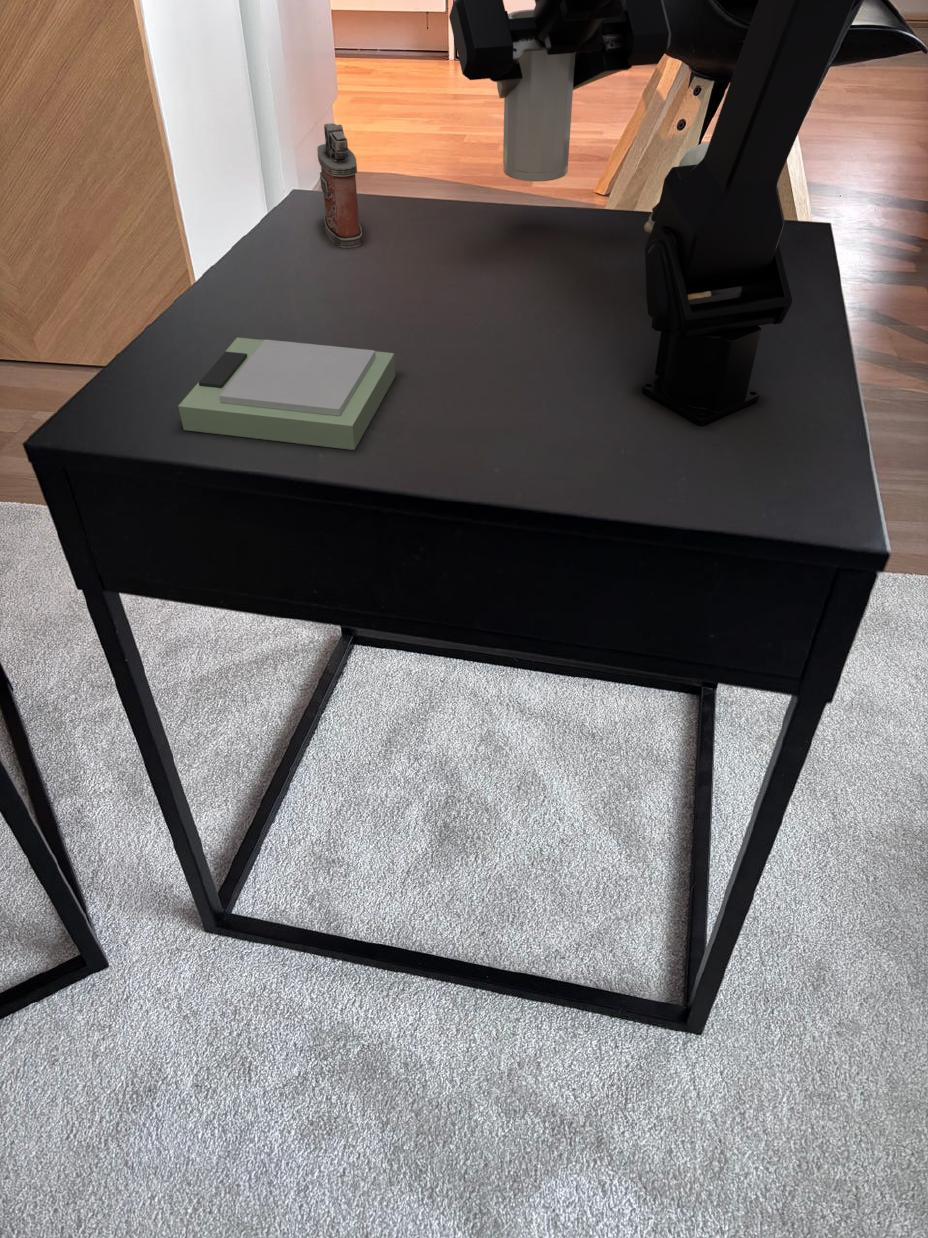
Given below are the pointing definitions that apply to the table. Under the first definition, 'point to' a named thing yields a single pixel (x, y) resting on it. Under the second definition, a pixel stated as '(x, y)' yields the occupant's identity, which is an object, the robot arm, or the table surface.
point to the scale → (290, 393)
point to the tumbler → (539, 115)
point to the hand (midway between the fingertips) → (533, 89)
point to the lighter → (339, 188)
